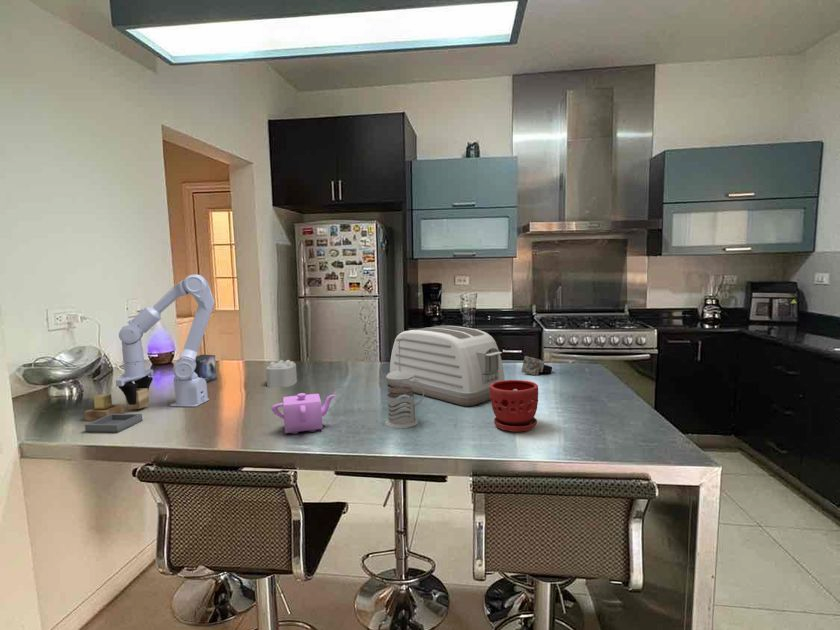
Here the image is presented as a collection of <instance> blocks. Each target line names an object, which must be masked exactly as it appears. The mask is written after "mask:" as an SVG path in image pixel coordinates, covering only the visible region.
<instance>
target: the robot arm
mask: <svg viewBox="0 0 840 630" xmlns="http://www.w3.org/2000/svg"><path fill="white" fill-rule="evenodd" d="M188 294H190V295H191V296H192V297H193V299H194V300H195V301H196V303H197V305H198V307H197V309H196V311H195V315H194V318H193V320H192V324H191V327H190V329H189V332H188V335H187V337H186V341H185V343H184V347H183V349H182V352H181V355H180V357H179V359H177V360H176V363H175V364H174V365H173V367H172V372H173V375H174V377H173V384H174V394H175V402H173V403H171V404H169V406H170V407H193V408H194V407H198V406H200V405H202V404H204V403H206V402H208V401H210V398H208V397H209V395H208V387H207V386H208V383H206V381H205V379H203V378H199V377H198V375H197V374H196V373H195V372H194V370H195V368H196V356H198V352H199V349H200V346H201V344H202V340H203V338H204V336H205V332H206V329H207V326H208V323H209V321H210V318H211V314H212V313H213V312H212V311H213V309H214V306H215V300H214V295H213V293H212V290H211V286H210V284H209V282H208V281H207V280H206V278H205V277H204V276H202V275H200V274H190V275H187V276H186V277H185V278H184V280H181V281H179V282H178V283H176V284H175V285H174V286H172V287H171V288H170V290H169V291H167V292H166V294H164V295H163V296H162V297H161V298H160V299H159V300H158V301H157V302H156V303H155V304H154V305H153V306H146V307H144V308H140V309H139V310H138V312H139V313H137V315H136V316H135V317H134V318H132V319H129V320H127V325H123V326H122V327H121V329H120V330H119V333H118V338H119V340H120V341H121V346H122V347H121V353H122V361H123V362H122V363H123V372H124V374H122V375H121V377H120V378H118V379H115V387H118V388H119V390H120V391H121V392H122V393H123V395H124V397H125V400H126V399H127V401H128V404H129V405H135V404H136V391H137V388H148V391H149V389H150V386H151V384H152V382H153V377H152V376H154V369H146V368H145V358H144V348H143V343H142V338H143V336H144V334H146V333H148V332H149V330H150V329H152V327H154V325H156V324H157V323H158V322H159V321H160V320H161V316H162V315H161V314H162V313H163V311H165V309H167V308H168V307H170V306H171V305H172V304H173V303H174V302H175V301H177V299H178V298H180V297H185V296H186V295H188Z"/></svg>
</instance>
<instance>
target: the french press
mask: <svg viewBox="0 0 840 630" xmlns="http://www.w3.org/2000/svg"><path fill="white" fill-rule="evenodd" d="M396 337H397V336H396ZM396 341H399V365H400V341H402V338H401V337H397V338H396ZM388 373H389V374H388ZM388 373H387V374H388V375H386V376H385V378H386V380H387V379H389V380H393V381H400V386H396V387H392V386H391V387H390V388H389V389H387V392H388V393H387V397H386V398H387V419H386V420H385V421H384V425H385V426H387V427H389V428H393V429H394V428H395V429H405V428H406V429H408V428H411V427H414V426H416V425H418V423H419V420H418V418H417V417H416V407H417V406H418V405H420V404H421V403H423V400H424V397H425V395H424V388H423V386H422V384H421V383H420V382H419V381H418V382H419V383H420V384H421V385H420V384H419V383H418V382H416V381H417V380H414V381H413V385H414V382H416V383H418V384H419V385H420V386H421V388H422V390H423V395H422V397H421V399H420V400H419V401H417V402H415V393H414V392H412V391H413V389H412V388H411V387H402V386H401V381H404V380H410V379H412V378H413V377H414V374H412V373H411V372H408V371H406V370H396V371H393V372H391V373H390V372H388ZM405 395H406V396H405ZM407 396H409V397H407Z"/></svg>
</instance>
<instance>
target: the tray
mask: <svg viewBox="0 0 840 630" xmlns="http://www.w3.org/2000/svg"><path fill="white" fill-rule="evenodd" d="M143 419H144V418H143V414H142V413H124V414H110V415H107V416H105V417H103V418H100V419H98V420H95V421H90V422H89V423H85V424H84V431H85V433H99V434H100V433H101V434H103V433H104V434H119V433H120V432H123V431H125V430H128V429H129V428H131V427H134V426H136V425H137V423H138V424H139V422H140V423H141V421H142V422H143V421H144V420H143ZM135 424H136V425H135Z"/></svg>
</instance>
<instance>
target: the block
mask: <svg viewBox="0 0 840 630" xmlns="http://www.w3.org/2000/svg"><path fill="white" fill-rule="evenodd" d="M125 403H126V409H127V410H129V409H133V410H135V409H137V410H139V409H140V410H141V409H143V408H145V407H146V406H148V405H150V397H149V390H148V388H137V391H136V404H135V405H129V404H128V401H127V399H126V398H125Z"/></svg>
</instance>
